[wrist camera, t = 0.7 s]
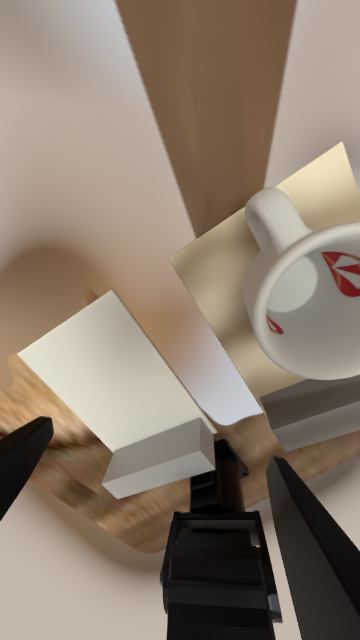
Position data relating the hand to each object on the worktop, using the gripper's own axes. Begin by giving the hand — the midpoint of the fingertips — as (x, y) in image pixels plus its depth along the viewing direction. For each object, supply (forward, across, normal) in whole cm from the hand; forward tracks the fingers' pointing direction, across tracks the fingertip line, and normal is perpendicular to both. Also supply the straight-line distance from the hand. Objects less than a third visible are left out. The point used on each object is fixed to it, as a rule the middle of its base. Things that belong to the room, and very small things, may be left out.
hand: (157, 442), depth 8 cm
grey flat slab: (+13, +6, +9) cm, 17 cm away
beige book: (+12, -10, -3) cm, 16 cm away
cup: (+12, -7, -6) cm, 15 cm away
